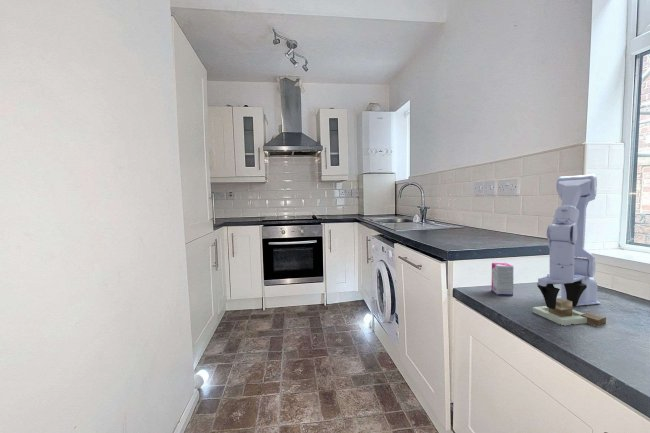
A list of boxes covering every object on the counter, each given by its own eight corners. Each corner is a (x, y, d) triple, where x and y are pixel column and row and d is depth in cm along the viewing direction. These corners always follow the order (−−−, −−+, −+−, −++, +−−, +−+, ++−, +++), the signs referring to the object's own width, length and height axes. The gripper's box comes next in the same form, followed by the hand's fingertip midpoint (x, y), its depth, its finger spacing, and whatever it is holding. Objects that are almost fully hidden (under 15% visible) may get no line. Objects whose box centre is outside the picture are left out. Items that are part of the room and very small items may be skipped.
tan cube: (559, 310, 88) (559, 297, 87) (572, 315, 84) (572, 301, 83) (548, 312, 87) (548, 298, 87) (560, 317, 83) (561, 302, 83)
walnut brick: (588, 318, 83) (588, 311, 83) (605, 324, 79) (606, 317, 79) (580, 321, 82) (580, 314, 81) (598, 327, 78) (598, 320, 78)
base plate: (560, 309, 90) (560, 304, 90) (593, 322, 80) (593, 317, 80) (532, 312, 89) (532, 307, 89) (562, 325, 79) (562, 320, 79)
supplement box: (514, 296, 104) (513, 266, 104) (496, 295, 105) (496, 266, 105) (507, 291, 110) (507, 262, 109) (490, 290, 111) (490, 262, 110)
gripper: (568, 258, 89) (568, 300, 90) (529, 262, 87) (529, 304, 88) (592, 263, 82) (592, 308, 83) (550, 267, 80) (550, 313, 81)
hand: (561, 306), depth 85 cm, fingers open, 7 cm apart
